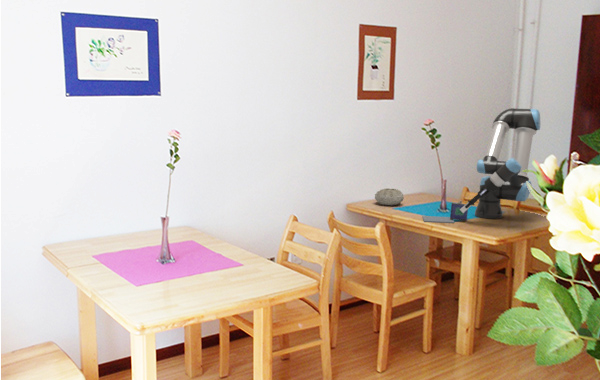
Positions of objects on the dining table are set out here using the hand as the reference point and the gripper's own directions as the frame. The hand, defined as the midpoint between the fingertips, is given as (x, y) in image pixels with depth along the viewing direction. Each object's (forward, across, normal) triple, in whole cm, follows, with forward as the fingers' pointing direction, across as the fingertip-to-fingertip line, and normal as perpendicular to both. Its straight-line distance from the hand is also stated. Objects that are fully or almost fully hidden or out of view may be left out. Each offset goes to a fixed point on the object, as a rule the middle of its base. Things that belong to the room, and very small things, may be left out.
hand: (461, 211), depth 317 cm
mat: (+12, -3, +5) cm, 14 cm away
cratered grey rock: (+38, +27, +32) cm, 57 cm away
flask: (+5, +1, -2) cm, 6 cm away
